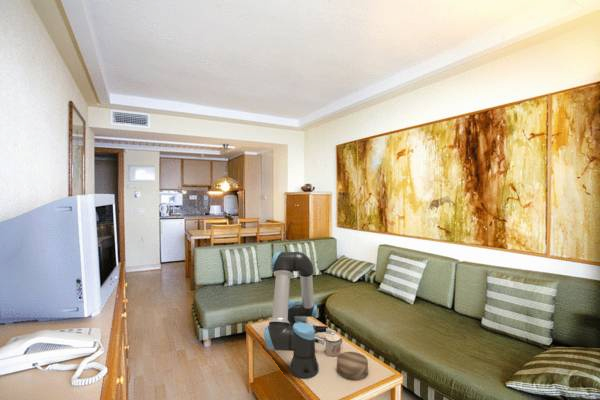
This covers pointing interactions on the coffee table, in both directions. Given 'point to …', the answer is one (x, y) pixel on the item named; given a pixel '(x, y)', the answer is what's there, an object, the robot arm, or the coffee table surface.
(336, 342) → the teacup with lid
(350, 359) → the walnut riser
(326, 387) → the coffee table surface
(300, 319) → the decorative ball
